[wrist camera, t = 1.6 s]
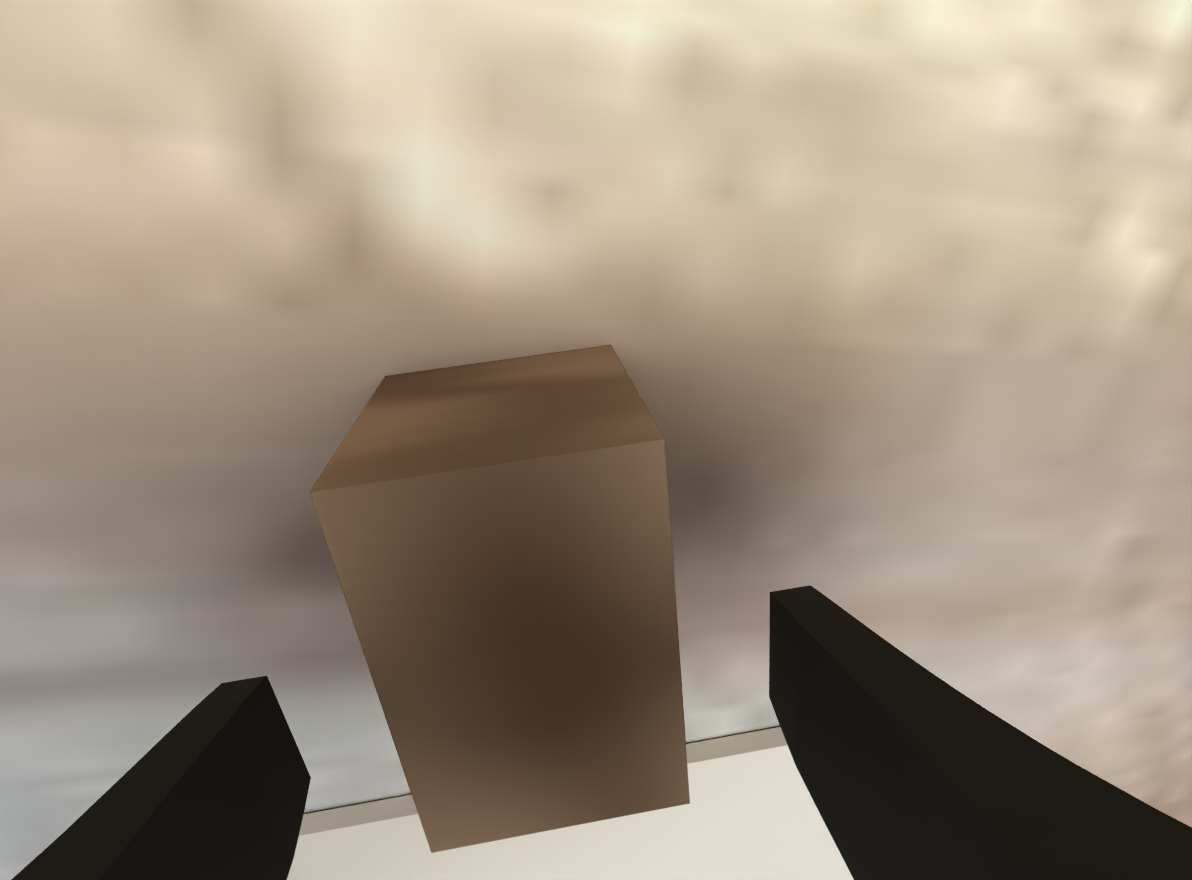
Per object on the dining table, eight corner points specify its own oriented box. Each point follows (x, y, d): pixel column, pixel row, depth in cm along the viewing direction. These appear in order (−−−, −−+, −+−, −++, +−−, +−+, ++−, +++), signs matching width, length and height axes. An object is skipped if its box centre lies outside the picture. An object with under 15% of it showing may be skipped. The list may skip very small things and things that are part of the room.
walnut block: (457, 647, 15) (431, 852, 10) (386, 374, 12) (309, 493, 8) (637, 616, 15) (689, 803, 11) (609, 343, 13) (664, 439, 8)
